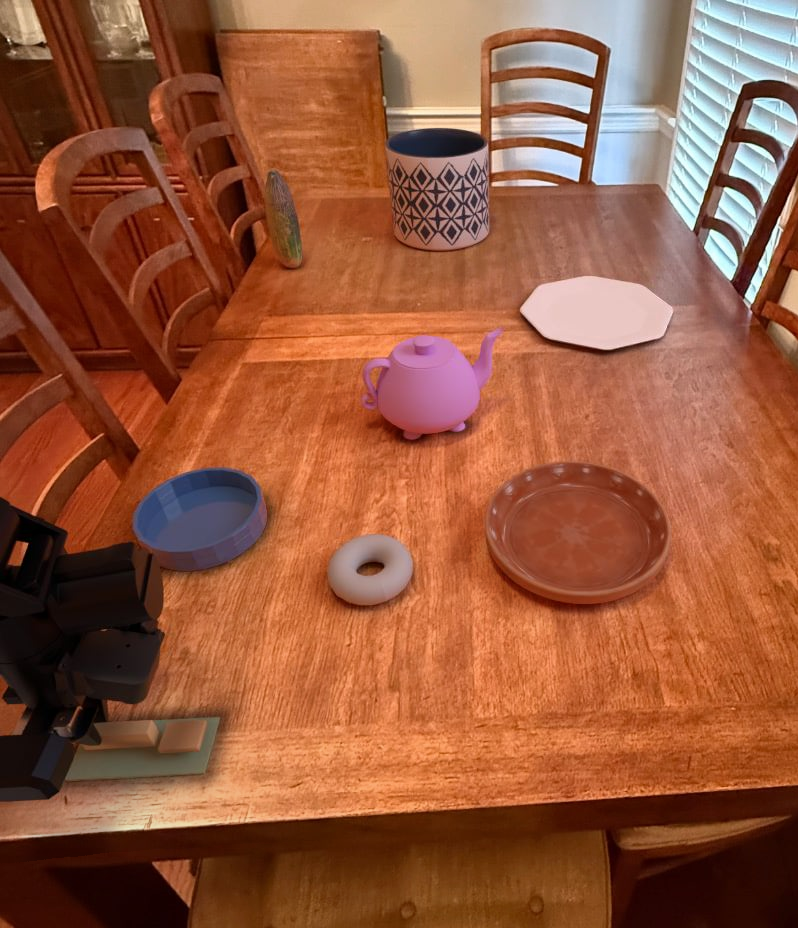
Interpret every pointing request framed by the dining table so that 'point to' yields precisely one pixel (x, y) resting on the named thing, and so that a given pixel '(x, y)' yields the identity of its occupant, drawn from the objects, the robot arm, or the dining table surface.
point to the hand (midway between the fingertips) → (99, 734)
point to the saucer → (577, 532)
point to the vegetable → (282, 220)
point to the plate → (597, 313)
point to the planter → (439, 187)
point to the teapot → (428, 384)
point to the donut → (373, 586)
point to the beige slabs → (151, 735)
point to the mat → (143, 758)
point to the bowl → (201, 518)
